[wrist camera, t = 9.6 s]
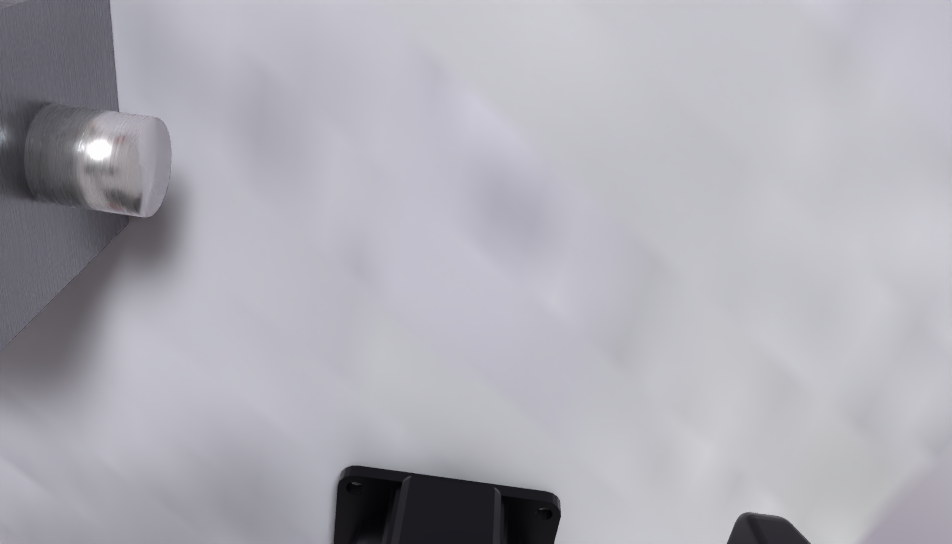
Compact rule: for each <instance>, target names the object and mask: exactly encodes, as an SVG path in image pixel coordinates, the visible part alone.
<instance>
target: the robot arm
mask: <svg viewBox="0 0 952 544" xmlns="http://www.w3.org/2000/svg"><path fill="white" fill-rule="evenodd" d="M351 482H358V483H360V484H361V485H355V484H352V483H351ZM539 508H548V510H539ZM560 517H561V509H560V500H559V499H558V497H557V496H556V495H554V494H553V493H550V492H546V491H539V490H532V489H524V488H517V487H510V486H503V485H495V484H488V483H481V482H473V481H466V480H459V479H451V478H444V477H437V476H429V475H422V474H415V473H407V472H400V471H393V470H386V469H378V468H371V467H364V466H350V467H347V468H345V469H344V470H343V471H342V473H341V476H340V480H339V483H338V489H337V504H336V519H335V534H334V544H554V541H555V537H556V533H557V529H558V525H559V521H560ZM727 544H811V543H810V542H809V541H808V540H807V539H806V538H805V537H804V536H803V535H802V534H801V533H800V532H799V531H798V530H797V529H796V528H795V527H794V526H793V525H792V524H791V523H790V522H789V521H788V520H786V519H785V518H782V517H779V516H773V515H766V514H759V513H751V512H747V513H743V514H741V515H740V516H739V517H738V519H737V520H736V522H735V524H734V527H733V530H732V532H731V535H730V537H729V540H728V542H727Z"/></svg>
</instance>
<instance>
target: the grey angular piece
mask: <svg viewBox="0 0 952 544" xmlns="http://www.w3.org/2000/svg"><path fill="white" fill-rule="evenodd" d="M170 171H171V142H170V137H169V133H168V130H167V127H166V125H165V124H164V122H163V121H162V120H161V119H160V118H157V117H150V116H143V115H136V114H129V113H122V112H119V111H118V100H117V88H116V76H115V64H114V53H113V41H112V29H111V18H110V6H109V0H0V351H1V350H2V349H3V348H4V347H5V346H6V345H7V344H8V343H9V342H10V341H11V340H12V339H13V338H14V337H15V336H16V335H17V334H18V333H19V332H20V331H21V330H22V329H23V328H24V327H25V326H26V325H27V324H28V323H29V322H30V321H31V320H32V319H33V318H34V317H35V316H36V315H37V314H38V313H39V312H40V311H41V310H42V309H43V308H44V307H45V306H46V305H47V304H48V303H49V302H50V301H51V300H52V299H53V298H54V297H55V296H56V295H57V294H58V293H59V292H60V291H61V290H62V289H63V288H64V287H65V286H66V285H67V284H68V283H69V282H70V281H71V280H72V279H73V278H74V277H75V276H76V275H77V274H78V273H79V272H80V271H81V270H82V269H83V268H84V267H85V266H86V265H87V264H88V263H89V262H90V261H91V260H92V259H93V258H94V257H95V256H96V255H97V254H98V253H99V252H100V251H101V250H102V249H103V248H104V247H105V246H106V245H107V244H108V243H109V242H110V241H111V240H112V239H113V238H114V237H115V236H116V235H117V234H118V233H119V232H120V231H121V230H122V229H123V228H124V227H125V226H126V225H127V224H128V217H127V215H132V216H139V217H150V216H152V215H153V214H155V213H156V211H157V210H158V209H159V207H160V206H161V204H162V202H163V199H164V197H165V194H166V191H167V187H168V183H169V178H170Z"/></svg>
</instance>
